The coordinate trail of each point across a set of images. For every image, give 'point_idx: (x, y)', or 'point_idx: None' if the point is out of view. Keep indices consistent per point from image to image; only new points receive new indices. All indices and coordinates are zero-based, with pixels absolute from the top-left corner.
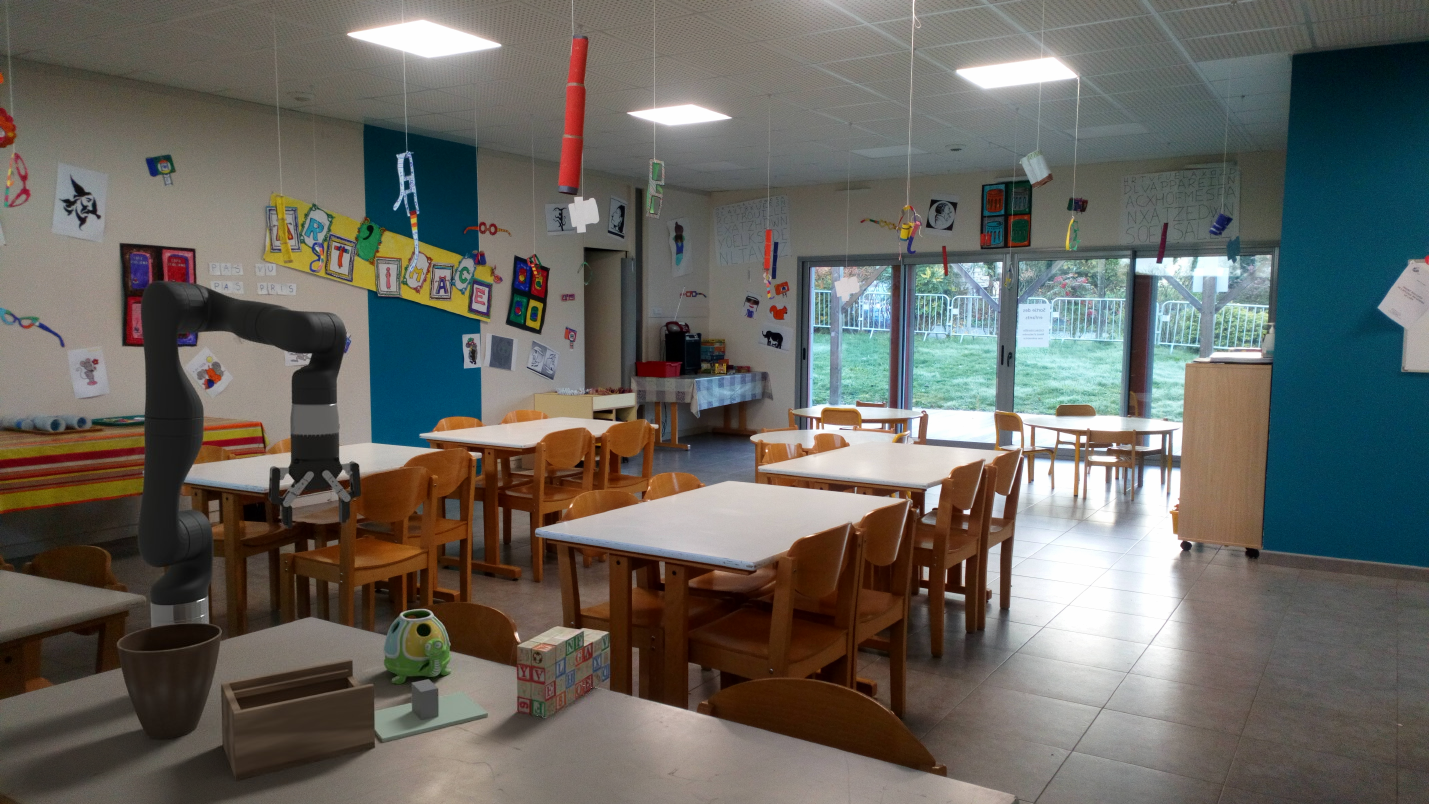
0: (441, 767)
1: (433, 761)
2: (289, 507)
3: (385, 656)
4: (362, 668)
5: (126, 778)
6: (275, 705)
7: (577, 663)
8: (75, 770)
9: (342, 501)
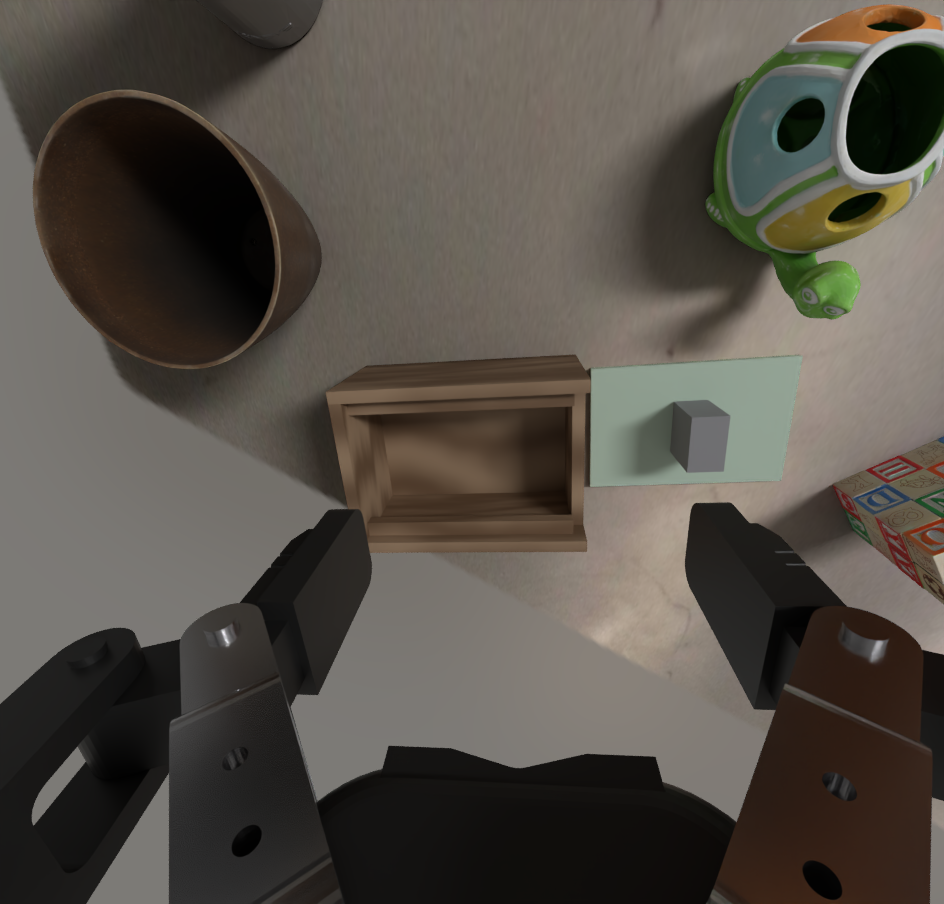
0: (632, 595)
1: (630, 575)
2: (297, 693)
3: (727, 144)
4: (683, 35)
5: (251, 418)
6: (417, 551)
7: None
8: None
9: (771, 698)
